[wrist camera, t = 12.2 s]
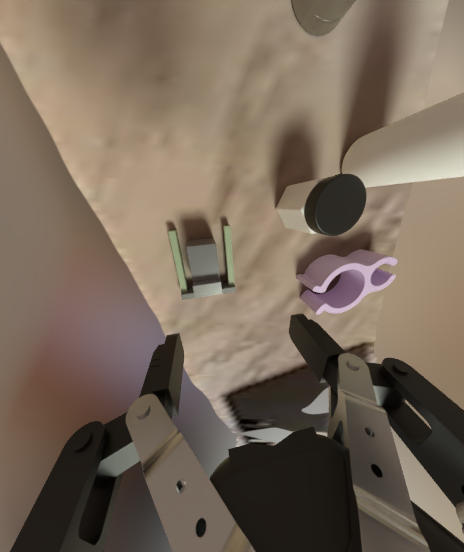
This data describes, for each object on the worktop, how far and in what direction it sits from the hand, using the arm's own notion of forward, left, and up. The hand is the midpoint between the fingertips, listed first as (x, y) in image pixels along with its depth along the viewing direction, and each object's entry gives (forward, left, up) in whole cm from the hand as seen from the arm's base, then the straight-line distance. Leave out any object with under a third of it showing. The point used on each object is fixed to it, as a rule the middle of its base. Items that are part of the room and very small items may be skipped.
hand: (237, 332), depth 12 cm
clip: (+10, +30, -25) cm, 41 cm away
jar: (-7, +18, -25) cm, 32 cm away
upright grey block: (+2, -2, -25) cm, 25 cm away
